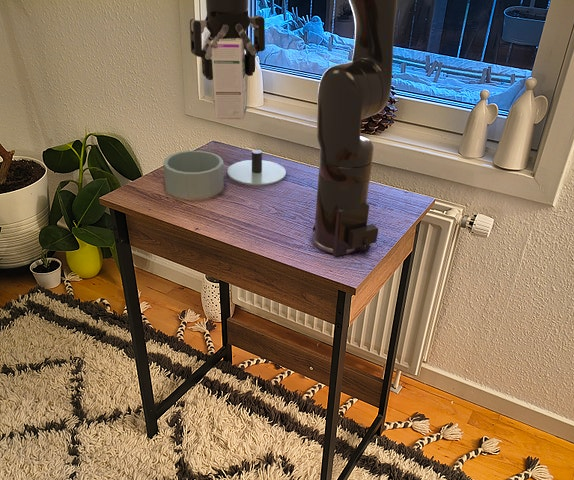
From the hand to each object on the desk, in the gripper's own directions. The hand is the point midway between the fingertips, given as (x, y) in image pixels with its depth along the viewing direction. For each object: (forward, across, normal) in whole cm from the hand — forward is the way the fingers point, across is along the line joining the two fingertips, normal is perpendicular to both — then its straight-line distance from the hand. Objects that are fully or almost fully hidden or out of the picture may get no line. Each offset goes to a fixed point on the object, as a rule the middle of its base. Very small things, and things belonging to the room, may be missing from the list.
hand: (229, 77), depth 111 cm
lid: (+25, +10, +9) cm, 28 cm away
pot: (+25, -6, +8) cm, 27 cm away
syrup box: (+7, 0, 0) cm, 7 cm away
